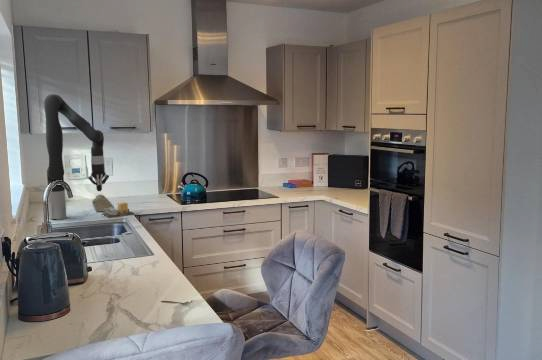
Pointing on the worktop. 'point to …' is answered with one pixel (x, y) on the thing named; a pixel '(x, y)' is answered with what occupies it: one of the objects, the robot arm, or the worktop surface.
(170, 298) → the worktop surface
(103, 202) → the fossil tooth
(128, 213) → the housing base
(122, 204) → the jaw block
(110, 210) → the keeper
